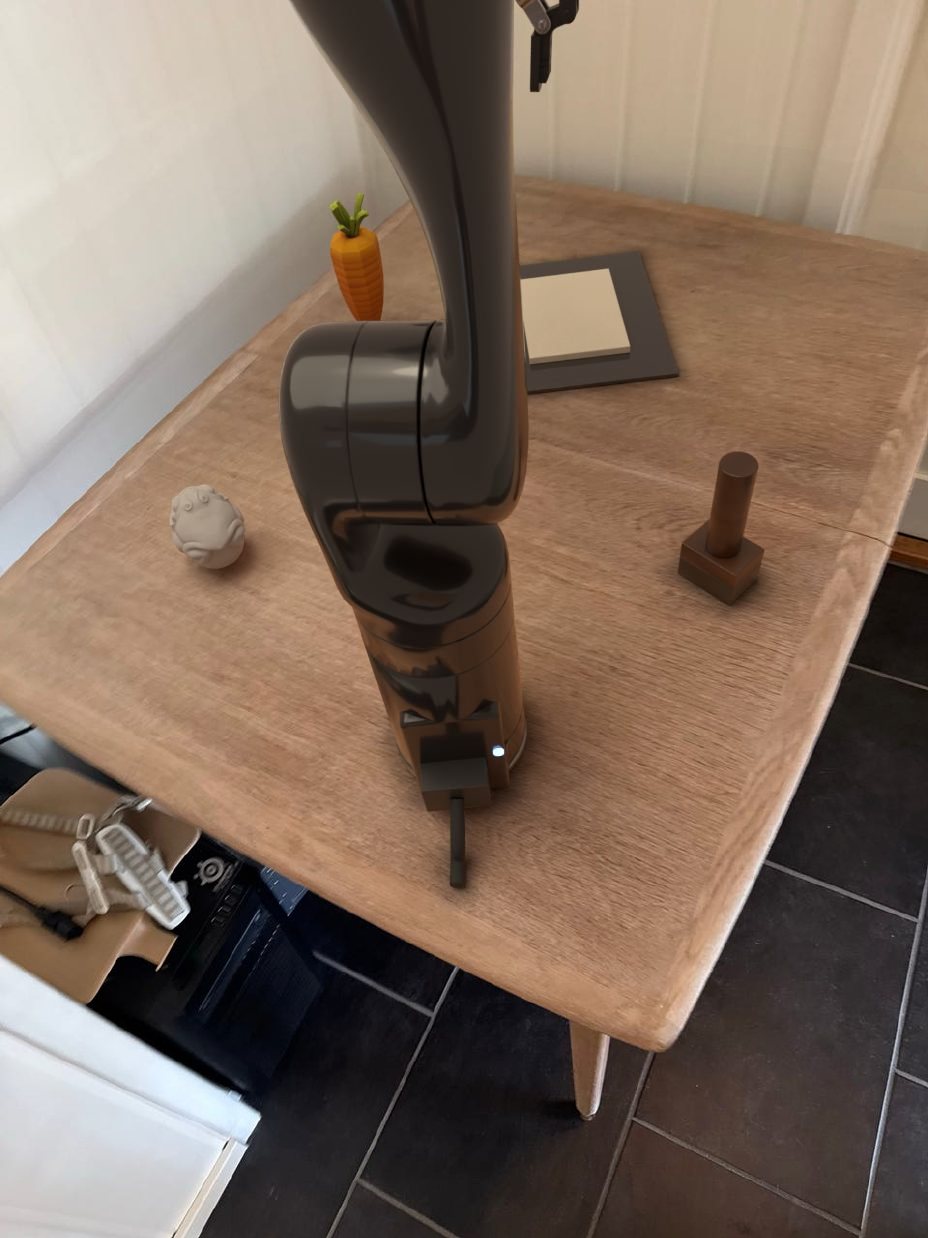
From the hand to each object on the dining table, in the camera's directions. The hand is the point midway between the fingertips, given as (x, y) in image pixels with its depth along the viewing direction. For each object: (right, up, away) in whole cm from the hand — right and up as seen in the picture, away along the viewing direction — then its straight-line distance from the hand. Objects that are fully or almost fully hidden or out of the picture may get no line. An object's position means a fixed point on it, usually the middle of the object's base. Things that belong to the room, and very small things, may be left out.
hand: (481, 88), depth 68 cm
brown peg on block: (+19, -38, +2) cm, 42 cm away
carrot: (-11, -11, +26) cm, 30 cm away
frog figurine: (-22, -36, +9) cm, 43 cm away
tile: (+10, -10, +24) cm, 28 cm away
